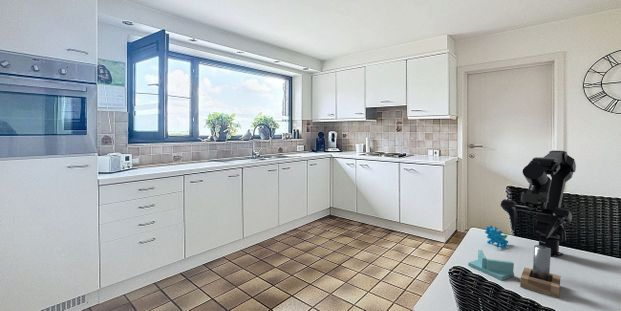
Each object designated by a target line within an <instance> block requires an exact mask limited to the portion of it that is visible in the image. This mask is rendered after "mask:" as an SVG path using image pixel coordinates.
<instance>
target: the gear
mask: <svg viewBox="0 0 621 311" xmlns="http://www.w3.org/2000/svg"><path fill="white" fill-rule="evenodd" d="M497 230H498V228H497V226H493V225H489V226H487V227H485V231H484V233H485V234H487V235H486V238H487V239H488V240H487V241H486V243H487V244H490V243H491V244H492V245H494V244H495V243H496V244H495V247H496V248H500V249H502V250H504V249H505V248H508V246H509V240H508V239H507V238H508V235H507V234H504V235H503V231H502V230H501V229H500V230H498V231H497Z"/></svg>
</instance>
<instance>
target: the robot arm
mask: <svg viewBox="0 0 621 311" xmlns="http://www.w3.org/2000/svg"><path fill="white" fill-rule="evenodd" d="M576 168H577V164H576V160H575V159H574V158H573V157H572V156H570V155H568V151H565V150H550V151H549V152H548V153H547V154H546V155H544V156H542V157H537V156H536V157H533V158H532V160H530V161H529V162H528V164H527V165H525V166H524V167H523V169H522V175H523V177H524V178H525V180H526V181H527V183H528V184H529V185H528V188H527V190H526V192H521V197H520V202H521V203H522V204H523V205H522V204H519V203H518V202H516V201H515V200H511V199H506V198H505V199H502V200H501V202H500V207H501V208H502V209H503V210H504V212H506V213H507V214H508V215H509V220H510V225H511V230H512V231H513V232H515V230H516V227H517V224H518V222H517V221H518V216H519V214H518V213H517V212H519V211H521V212H528V213H535V214H537V218H536V220H535V221H534V222H533V232H534V236H535V237H538V238H539V240H538V245H542V246H546V247H549V248H550V249H551V256H550V258H551V257H557V256H563V255H564V253H563V252H560V242H565V241H567V236H566V235H567V234H566V228H564V225H565V224H566V223H572V219H573V214H572V212H571V210H570V209H569V208H565V207H562V200H563V196H564V192H565V188H566V183H567V182H568V181H570V180H571V179H572V178H573V175H574V173H576ZM549 176H550V177H549Z"/></svg>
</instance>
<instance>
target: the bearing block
mask: <svg viewBox="0 0 621 311" xmlns="http://www.w3.org/2000/svg"><path fill="white" fill-rule="evenodd" d="M561 278H562V277H561V275H557V274H554V273H553V274H552V273H550V274H549V282H548V281H544V280H540V279H536V278H533V268H529V267H525V266H524V268H523V271H522V273H521V276H520V282H519V288H522V289H526V290H530V291H533V292H535V293H536V292H538V293H539V294H540V293H541V294H544V295H548V296H550V297H554V298H558V299H559V297H560V289H561V280H562V279H561Z"/></svg>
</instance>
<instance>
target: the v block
mask: <svg viewBox="0 0 621 311" xmlns="http://www.w3.org/2000/svg"><path fill="white" fill-rule="evenodd" d="M467 266H468V267H470V268H473V269H475V270H477V271H479V272H482V273H484V274H486V275H488V276H490V277H493V278H495V279H497V280H499V281H503V280H508V279H510V278H512V277H515V272H514V268H515V264H514V261H509V260H500V259H493V258H487V257H486V255H485V253H484V252H483V250H481V249H478V252H477V259H476V260H473V261H468V265H467Z"/></svg>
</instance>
